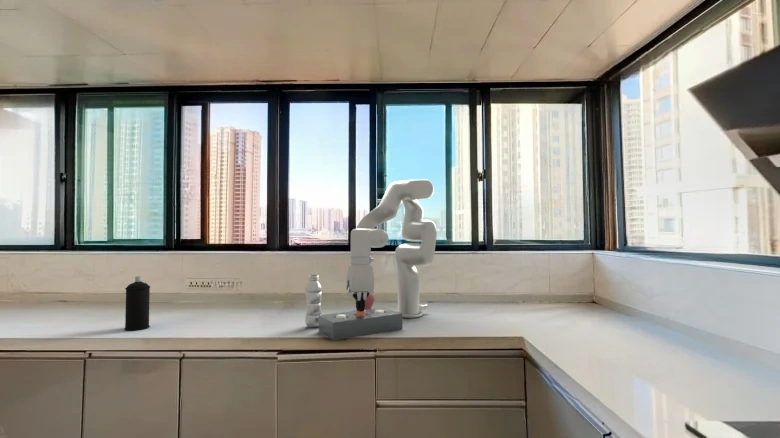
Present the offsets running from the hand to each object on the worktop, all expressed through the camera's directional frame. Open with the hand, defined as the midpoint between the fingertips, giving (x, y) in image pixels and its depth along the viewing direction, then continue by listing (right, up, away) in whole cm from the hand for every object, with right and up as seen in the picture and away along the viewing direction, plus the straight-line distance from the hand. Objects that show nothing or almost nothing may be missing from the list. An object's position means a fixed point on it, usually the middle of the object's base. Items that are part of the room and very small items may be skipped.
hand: (360, 310), depth 144 cm
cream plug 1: (-7, -7, -4) cm, 10 cm away
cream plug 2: (+7, -7, +4) cm, 11 cm away
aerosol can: (-87, -8, +5) cm, 87 cm away
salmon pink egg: (0, -6, 0) cm, 6 cm away
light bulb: (+1, -8, +20) cm, 22 cm away
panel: (0, -7, 0) cm, 7 cm away
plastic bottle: (-19, -8, +6) cm, 21 cm away
